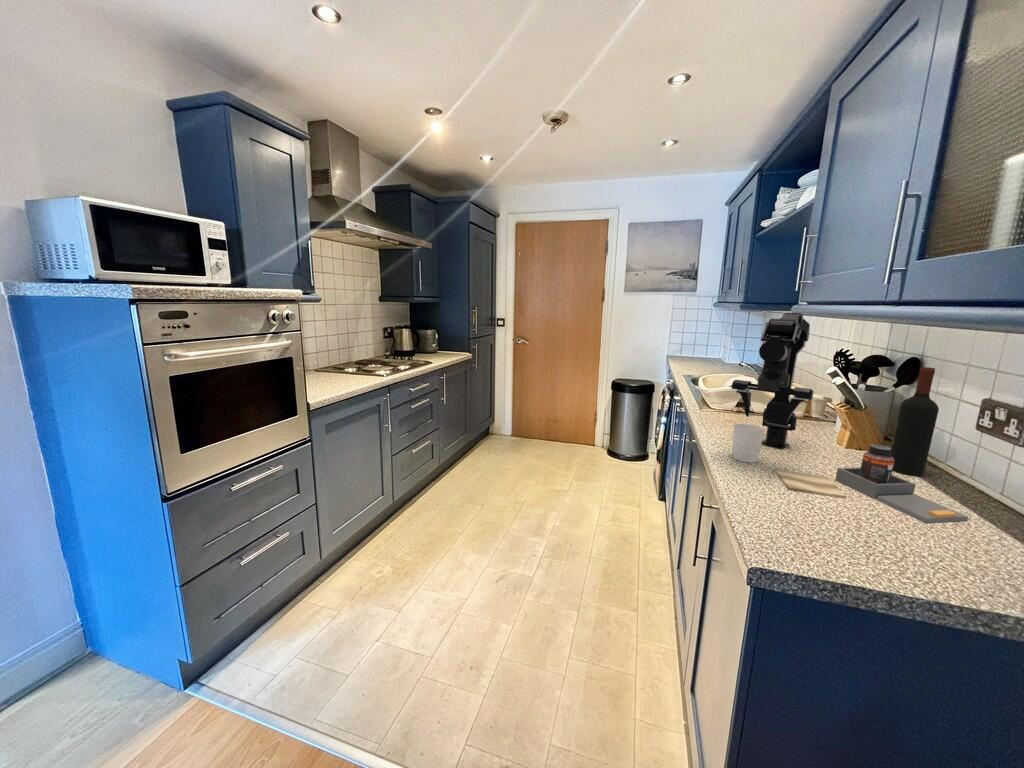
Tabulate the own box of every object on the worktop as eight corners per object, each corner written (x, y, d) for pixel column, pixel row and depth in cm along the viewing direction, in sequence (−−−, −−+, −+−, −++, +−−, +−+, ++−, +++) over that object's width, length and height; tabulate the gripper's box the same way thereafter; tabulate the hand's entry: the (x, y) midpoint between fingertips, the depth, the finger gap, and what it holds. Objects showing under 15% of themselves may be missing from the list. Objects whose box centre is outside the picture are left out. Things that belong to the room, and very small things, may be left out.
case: (835, 480, 108) (837, 468, 107) (870, 479, 109) (872, 467, 109) (925, 522, 87) (929, 508, 86) (967, 520, 88) (971, 506, 88)
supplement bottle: (893, 495, 100) (903, 451, 98) (866, 492, 101) (875, 449, 99) (877, 484, 106) (886, 443, 104) (851, 482, 107) (860, 441, 105)
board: (775, 471, 113) (775, 469, 113) (826, 479, 109) (827, 476, 109) (788, 489, 102) (788, 487, 102) (845, 498, 98) (846, 496, 98)
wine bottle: (892, 472, 114) (915, 368, 108) (883, 463, 121) (904, 364, 115) (928, 478, 111) (954, 370, 105) (917, 469, 117) (940, 367, 112)
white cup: (751, 454, 126) (756, 424, 124) (764, 464, 118) (769, 431, 116) (725, 453, 126) (729, 422, 125) (736, 463, 119) (741, 430, 117)
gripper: (731, 359, 111) (722, 414, 112) (815, 367, 99) (803, 429, 101) (740, 361, 120) (731, 413, 121) (818, 369, 108) (807, 426, 109)
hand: (765, 419), depth 113 cm, fingers open, 9 cm apart
